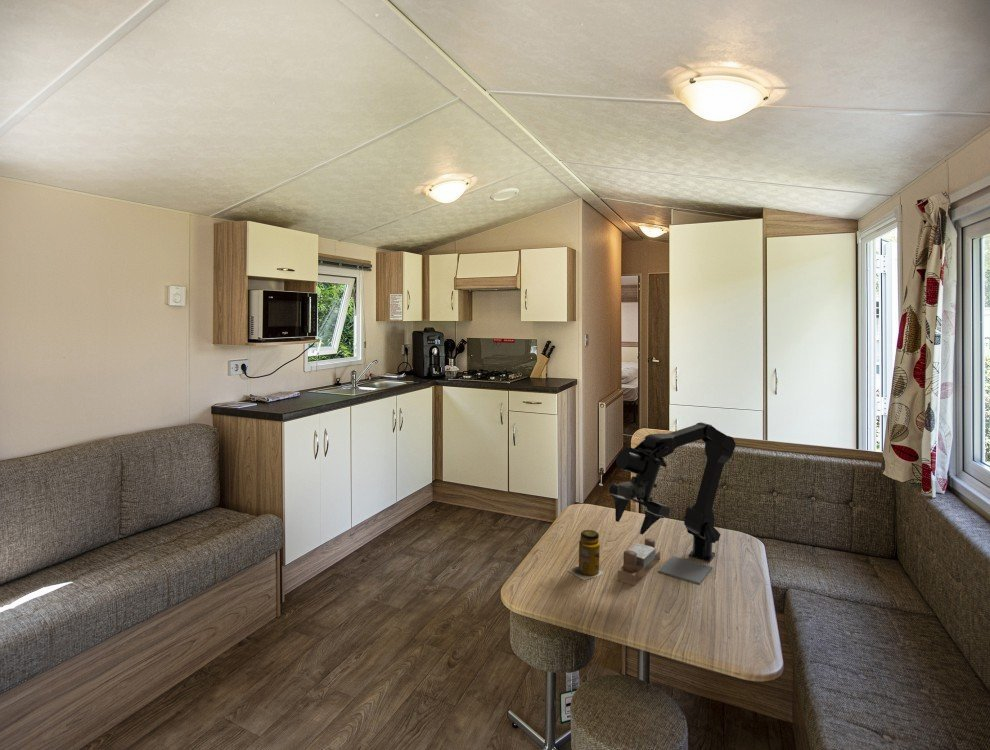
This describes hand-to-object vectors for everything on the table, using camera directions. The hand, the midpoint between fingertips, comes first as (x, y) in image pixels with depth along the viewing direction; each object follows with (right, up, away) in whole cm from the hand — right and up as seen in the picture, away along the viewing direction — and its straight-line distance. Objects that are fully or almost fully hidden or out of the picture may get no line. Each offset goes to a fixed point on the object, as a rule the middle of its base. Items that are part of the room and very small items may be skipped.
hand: (628, 527), depth 155 cm
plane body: (+4, -14, +4) cm, 15 cm away
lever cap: (+4, -11, +3) cm, 12 cm away
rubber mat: (+18, -14, +3) cm, 23 cm away
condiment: (-12, -14, +2) cm, 19 cm away
